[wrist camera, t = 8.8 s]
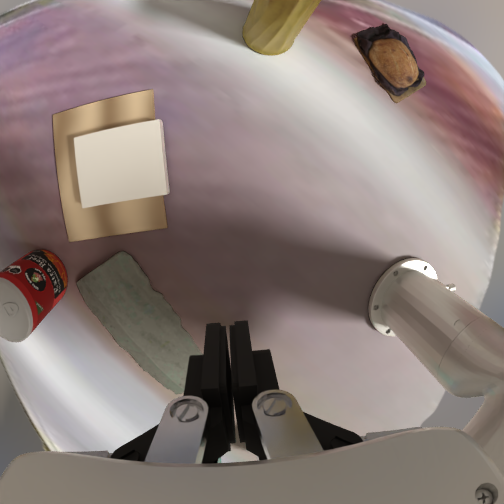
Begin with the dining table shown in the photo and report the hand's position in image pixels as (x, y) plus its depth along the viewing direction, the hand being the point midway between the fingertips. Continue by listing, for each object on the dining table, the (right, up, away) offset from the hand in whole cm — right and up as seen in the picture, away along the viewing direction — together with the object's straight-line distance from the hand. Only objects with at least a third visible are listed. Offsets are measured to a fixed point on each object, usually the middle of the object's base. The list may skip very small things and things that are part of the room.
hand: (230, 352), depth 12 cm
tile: (-8, +14, +18) cm, 24 cm away
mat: (-16, +14, +19) cm, 28 cm away
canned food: (-27, +1, +22) cm, 34 cm away
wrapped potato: (+19, +29, +19) cm, 40 cm away
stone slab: (-13, -6, +26) cm, 30 cm away
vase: (+3, +29, +16) cm, 34 cm away
